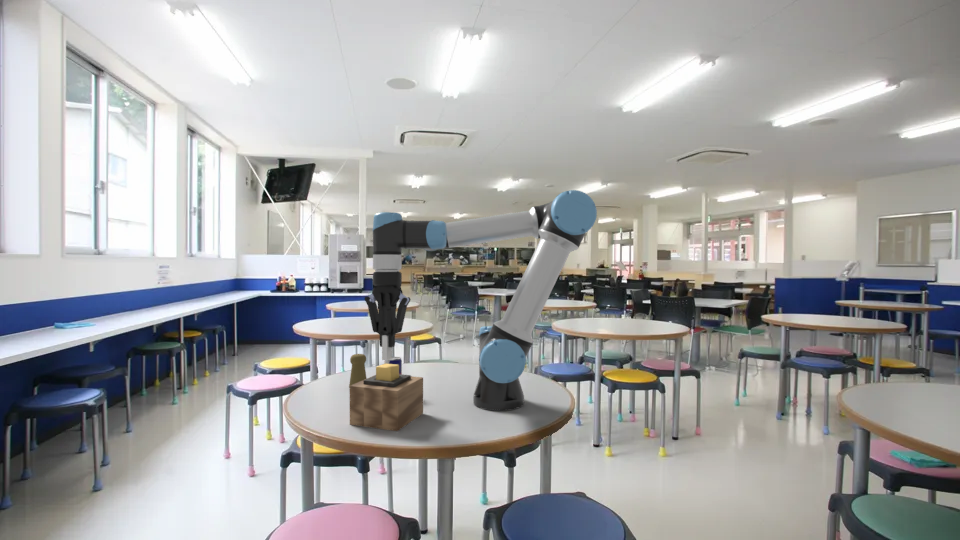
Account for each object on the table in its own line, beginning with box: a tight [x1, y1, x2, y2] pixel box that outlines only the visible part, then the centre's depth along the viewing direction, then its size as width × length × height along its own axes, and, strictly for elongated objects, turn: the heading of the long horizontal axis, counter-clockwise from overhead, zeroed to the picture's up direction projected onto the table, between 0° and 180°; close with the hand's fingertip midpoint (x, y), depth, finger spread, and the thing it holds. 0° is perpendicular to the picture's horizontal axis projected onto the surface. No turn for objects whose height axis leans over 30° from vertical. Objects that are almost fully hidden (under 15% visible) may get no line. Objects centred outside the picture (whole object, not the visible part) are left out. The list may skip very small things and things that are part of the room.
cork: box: [348, 353, 368, 389], centre depth 149 cm, size 6×6×11 cm
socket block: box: [349, 373, 424, 432], centre depth 118 cm, size 14×14×11 cm
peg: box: [375, 363, 399, 381], centre depth 118 cm, size 4×4×9 cm
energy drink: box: [383, 356, 403, 374], centre depth 138 cm, size 5×5×12 cm
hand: (387, 359), depth 118 cm, fingers closed
